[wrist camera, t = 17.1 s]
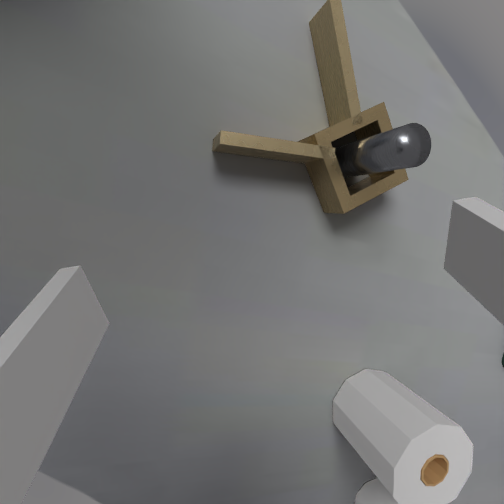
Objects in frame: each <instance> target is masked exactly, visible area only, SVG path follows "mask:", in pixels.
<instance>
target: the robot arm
mask: <svg viewBox="0 0 504 504" xmlns="http://www.w3.org/2000/svg"><path fill="white" fill-rule="evenodd" d="M444 269H445V270H446V271H447V272H448V273H449V274H450V275H451V276H452V277H453V278H454V279H455V280H456V281H457V282H459V283H460V284H461V285H462V286H463V287H464V288H465V289H466V290H467V291H468V292H469V293H470V294H471V295H472V296H473V297H474V298H475V299H476V300H477V301H479V302H480V303H481V304H482V305H483V306H484V307H485V308H486V309H487V310H488V311H489V312H490V313H491V314H492V315H493V316H494V317H495V318H496V319H497V320H499V321H500V322H501V323H502V324H503V325H504V211H502V210H500V209H498V208H496V207H494V206H492V205H490V204H489V203H487V202H485V201H483V200H481V199H479V198H477V197H471V198H465V199H459V200H454V201H453V203H452V211H451V218H450V225H449V233H448V240H447V247H446V255H445V262H444ZM109 324H110V323H109V321H108V319H107V317H106V315H105V313H104V311H103V309H102V307H101V305H100V303H99V301H98V299H97V297H96V295H95V293H94V291H93V289H92V287H91V285H90V283H89V281H88V279H87V277H86V275H85V273H84V271H83V269H82V267H81V265H79V266H73V267H68V268H62V269H59V270H58V272H57V273H56V274H55V275H54V276H53V277H52V278H51V280H50V281H49V282H48V283H47V284H46V285H45V286H44V288H43V289H42V290H41V291H40V292H39V293H38V295H37V296H36V297H35V298H34V299H33V300H32V301H31V303H30V304H29V305H28V306H27V307H26V308H25V309H24V311H23V312H22V313H21V314H20V315H19V316H18V317H17V319H16V320H15V321H14V322H13V323H12V324H11V326H10V327H9V328H8V329H7V330H6V331H5V332H4V334H3V335H2V336H1V337H0V504H22V502H23V500H24V498H25V496H26V494H27V492H28V490H29V488H30V486H31V484H32V482H33V480H34V477H35V476H36V474H37V471H38V469H39V467H40V465H41V463H42V461H43V459H44V457H45V455H46V453H47V451H48V449H49V447H50V445H51V443H52V441H53V439H54V437H55V435H56V433H57V431H58V428H59V426H60V424H61V422H62V420H63V418H64V416H65V414H66V412H67V410H68V408H69V406H70V404H71V402H72V400H73V398H74V396H75V394H76V392H77V390H78V388H79V385H80V383H81V381H82V379H83V377H84V375H85V373H86V371H87V369H88V367H89V365H90V363H91V361H92V359H93V357H94V355H95V353H96V351H97V349H98V347H99V344H100V342H101V340H102V338H103V336H104V334H105V332H106V330H107V328H108V326H109Z"/></svg>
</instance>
